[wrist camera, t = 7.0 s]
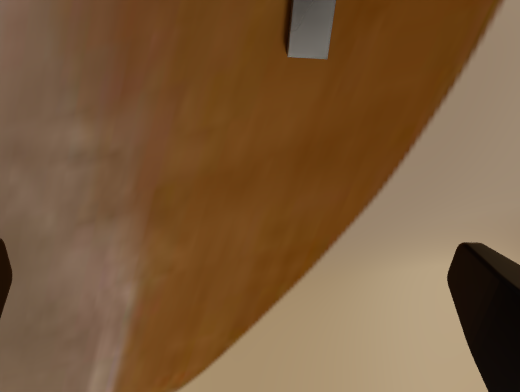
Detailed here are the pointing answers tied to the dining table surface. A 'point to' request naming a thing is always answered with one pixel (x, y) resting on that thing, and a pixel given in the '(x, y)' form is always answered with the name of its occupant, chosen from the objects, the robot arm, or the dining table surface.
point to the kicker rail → (310, 28)
